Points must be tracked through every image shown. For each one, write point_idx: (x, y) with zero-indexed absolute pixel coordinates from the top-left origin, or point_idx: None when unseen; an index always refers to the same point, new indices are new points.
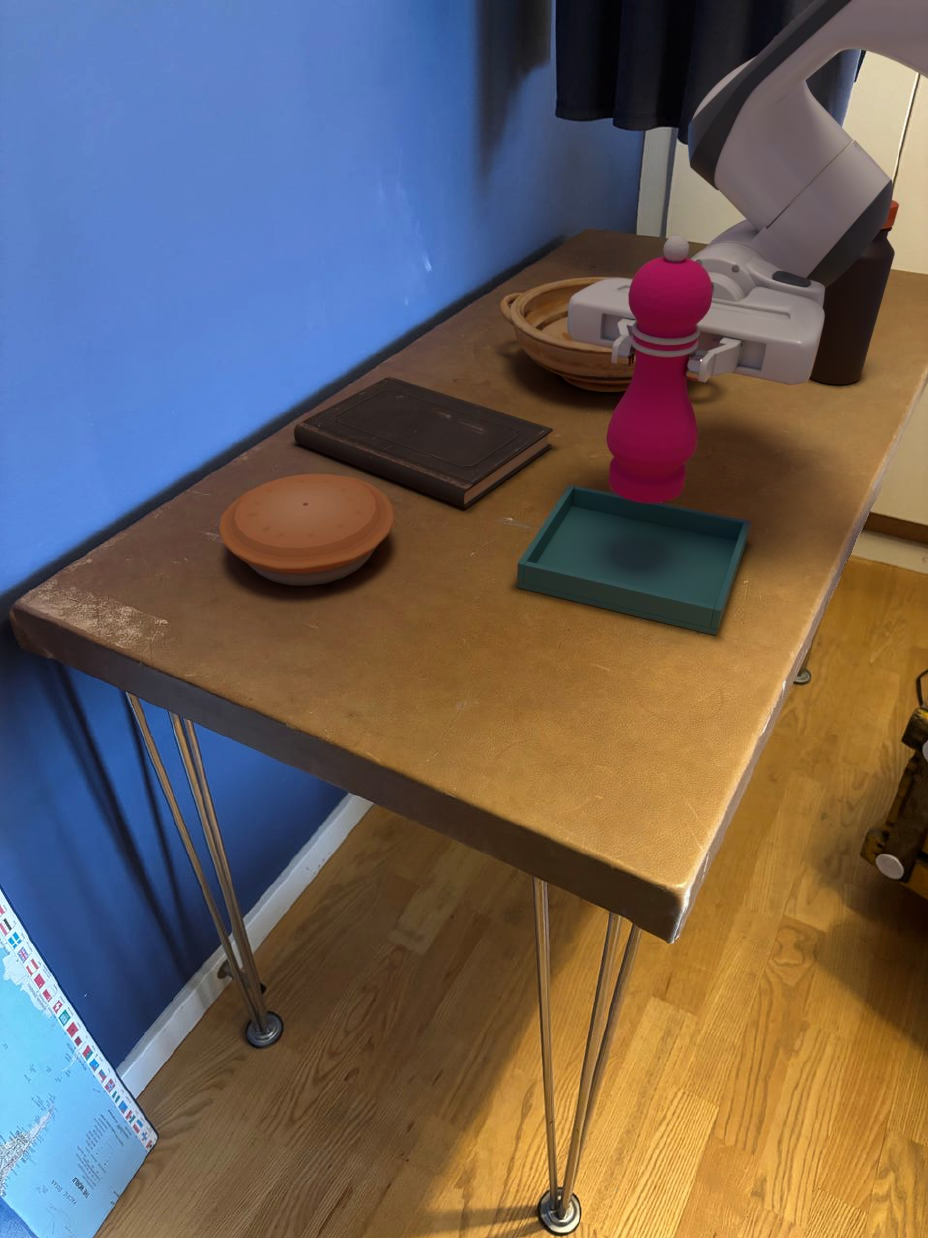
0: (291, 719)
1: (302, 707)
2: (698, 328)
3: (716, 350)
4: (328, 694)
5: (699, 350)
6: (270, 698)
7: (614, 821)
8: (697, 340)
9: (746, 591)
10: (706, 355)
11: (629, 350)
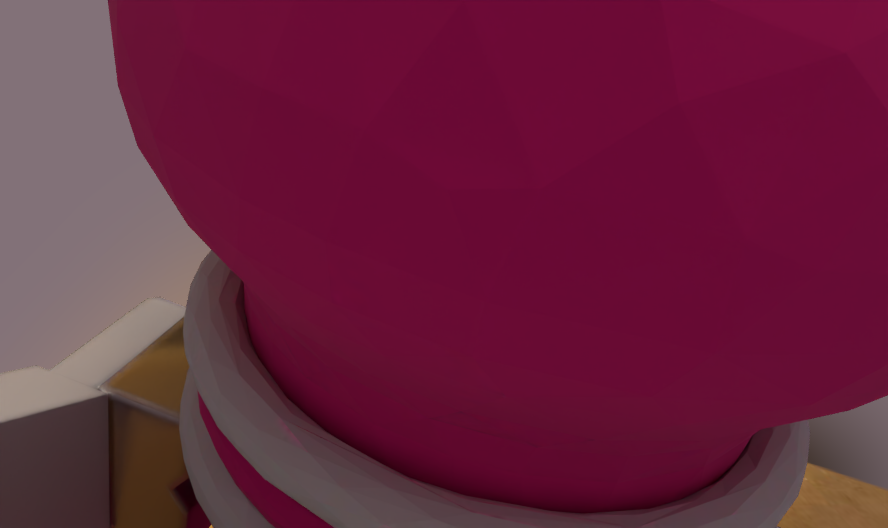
0: (819, 468)
1: (823, 486)
2: (210, 267)
3: (18, 391)
4: (810, 509)
5: (167, 413)
6: (878, 500)
7: None
8: (191, 375)
9: None
10: (141, 341)
11: None
